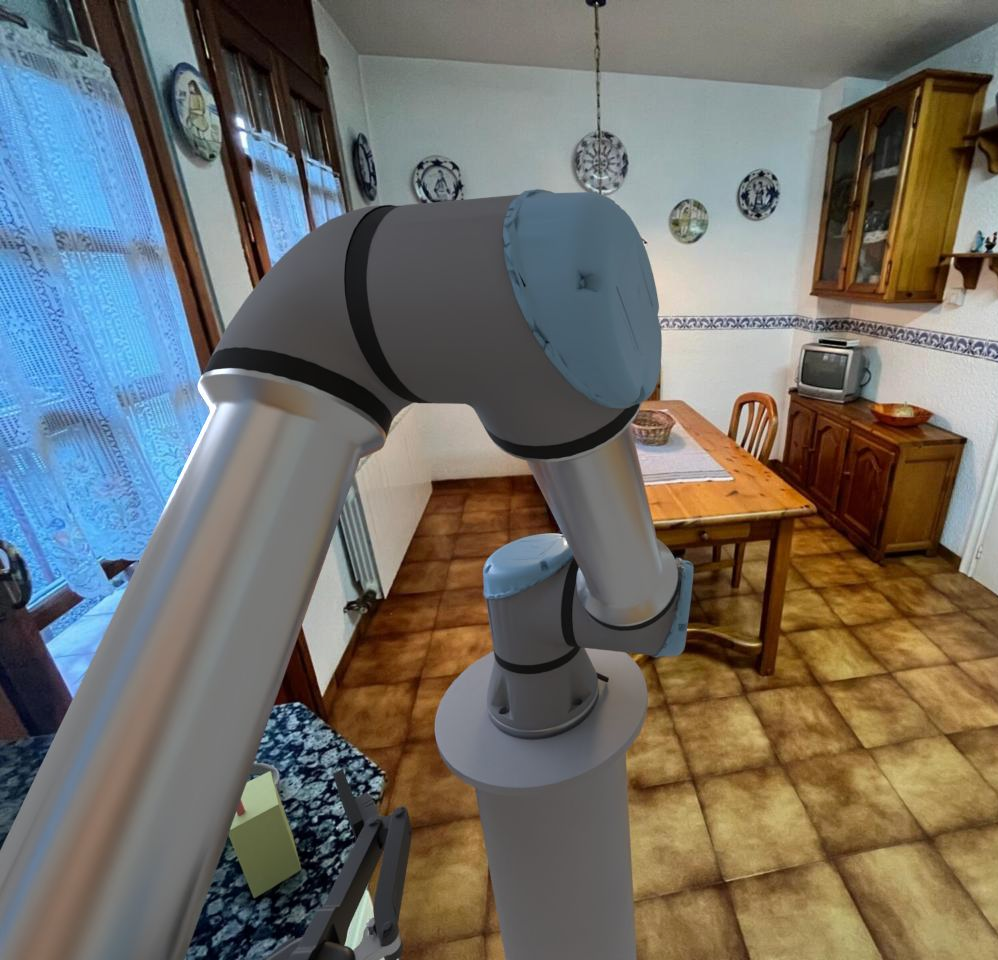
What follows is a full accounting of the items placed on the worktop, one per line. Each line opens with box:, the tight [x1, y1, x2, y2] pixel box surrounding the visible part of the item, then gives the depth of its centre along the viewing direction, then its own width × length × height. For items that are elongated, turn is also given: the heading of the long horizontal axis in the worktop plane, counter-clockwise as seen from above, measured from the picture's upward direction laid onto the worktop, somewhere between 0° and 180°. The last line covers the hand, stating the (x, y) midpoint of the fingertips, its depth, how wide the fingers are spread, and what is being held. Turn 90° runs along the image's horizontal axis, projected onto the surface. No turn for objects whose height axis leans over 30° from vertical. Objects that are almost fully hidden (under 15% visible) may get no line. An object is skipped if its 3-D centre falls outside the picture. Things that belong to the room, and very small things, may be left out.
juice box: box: [228, 771, 302, 899], centre depth 51 cm, size 4×5×14 cm
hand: (247, 832), depth 42 cm, fingers open, 13 cm apart
